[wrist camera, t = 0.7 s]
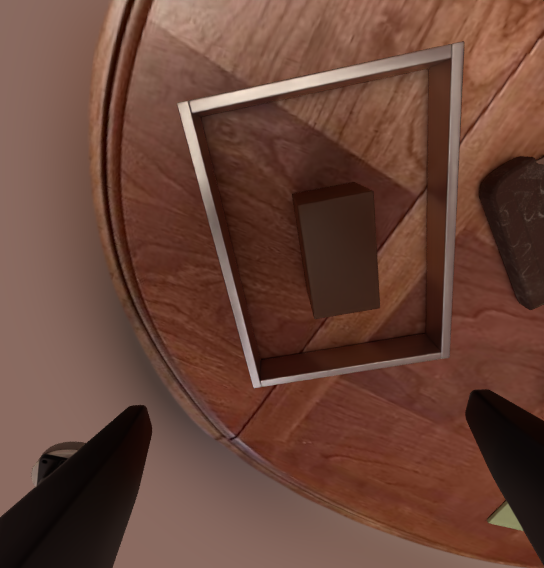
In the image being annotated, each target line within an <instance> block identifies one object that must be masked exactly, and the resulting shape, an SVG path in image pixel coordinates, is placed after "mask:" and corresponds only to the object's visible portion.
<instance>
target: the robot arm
mask: <svg viewBox="0 0 544 568" xmlns="http://www.w3.org/2000/svg"><path fill="white" fill-rule="evenodd" d="M465 416H466V420H467V423H468V425H469V427H470V429H471V431H472V433H473V436H474V438H475V440H476V442H477V444H478V446H479V449H480V451H481V453H482V455H483V457H484V460H485V462H486V464H487V466H488V468H489V470H490V472H491V474H492V476H493V478H494V480H495V482H496V484H497V485H498V487H499V489H500V491H501V492H502V494H503V496H504V498H505V499H506V501H507V503H508V504H509V506H510V508H511V510H512V511H513V513H514V515H515V517H516V518H517V520H518V522H519V524H520V525H521V527H522V529H523V530H524V532H525V534H526V536H527V537H528V539H529V541H530V543H531V544H532V546H533V548H534V549H535V551H536V553H537V555H538V556H539V558H540V560H541V562H542V563H543V565H544V421H543V420H541V419H540V418H538V417H536V416H534V415H533V414H531V413H529V412H527V411H526V410H524V409H522V408H520V407H519V406H517V405H515V404H513V403H512V402H510V401H508V400H506V399H505V398H503V397H501V396H499V395H498V394H496V393H494V392H492V391H490V390H487V389H482V390H473V391H472V392H471V393H470V396H469V400H468V404H467V408H466V412H465ZM151 436H152V425H151V421H150V418H149V414H148V411H147V408H146V406H144V405H135V406H134V405H133V406H130V407H128V408H127V409H125V410H124V411H123V412H122V413H121V414H120V415H118V416H117V417H116V418H115V419H114V420H113V421H111V422H110V423H109V424H108V425H107V426H106V427H105V428H103V429H102V430H101V431H100V432H99V433H98V434H96V435H95V436H94V437H93V438H92V439H91V440H90V441H88V442H87V443H86V444H85V445H84V446H82V447H81V448H80V449H79V450H78V451H77V452H75V453H74V454H73V455H72V456H71V457H70V458H64V457H60V456H55V455H50V454H43V455H42V456H41V458H40V459H39V465H38V477H37V486H36V487H35V488H34V489H33V490H31V491H30V492H29V493H28V494H27V495H26V496H25V497H23V498H22V499H21V500H20V501H19V502H17V503H16V504H15V505H14V506H13V507H12V508H10V509H9V510H8V511H7V512H6V513H5V514H3V515H2V516H1V517H0V568H113V564H114V561H115V559H116V556H117V553H118V550H119V547H120V544H121V541H122V538H123V535H124V532H125V529H126V527H127V524H128V521H129V518H130V515H131V512H132V509H133V506H134V503H135V500H136V497H137V494H138V490H139V486H140V482H141V478H142V474H143V470H144V465H145V461H146V457H147V453H148V449H149V444H150V440H151Z"/></svg>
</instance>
